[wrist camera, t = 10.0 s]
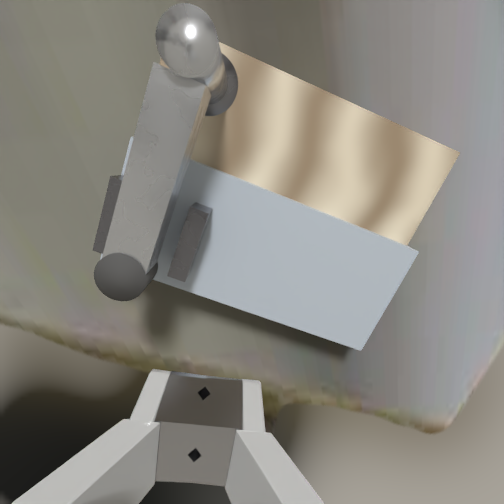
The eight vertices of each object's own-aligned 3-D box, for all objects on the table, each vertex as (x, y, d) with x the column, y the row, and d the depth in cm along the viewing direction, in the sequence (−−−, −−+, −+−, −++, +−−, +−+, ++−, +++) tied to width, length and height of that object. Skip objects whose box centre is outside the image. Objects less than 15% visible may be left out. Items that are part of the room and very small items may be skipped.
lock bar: (193, 51, 22) (164, -10, 14) (234, 70, 23) (228, 21, 15) (133, 255, 27) (86, 293, 19) (168, 267, 27) (136, 310, 20)
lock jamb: (116, 249, 29) (84, 271, 23) (175, 28, 23) (152, -16, 17) (348, 331, 32) (371, 368, 26) (448, 153, 26) (504, 150, 21)
